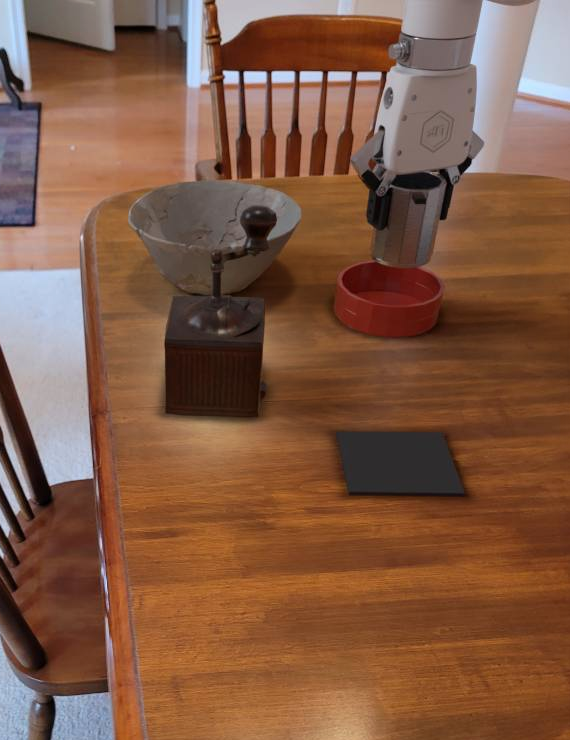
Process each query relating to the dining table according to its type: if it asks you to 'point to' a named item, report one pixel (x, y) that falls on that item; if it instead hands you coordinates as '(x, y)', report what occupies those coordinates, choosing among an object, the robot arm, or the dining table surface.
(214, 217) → the ceramic bowl
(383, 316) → the shallow red bowl
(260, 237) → the manual coffee grinder
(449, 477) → the rubber mat
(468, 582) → the dining table surface
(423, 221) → the steel pot
